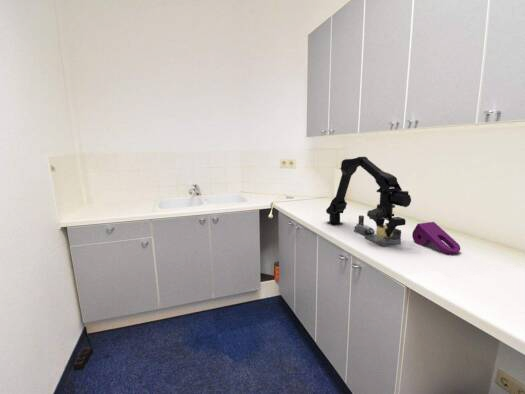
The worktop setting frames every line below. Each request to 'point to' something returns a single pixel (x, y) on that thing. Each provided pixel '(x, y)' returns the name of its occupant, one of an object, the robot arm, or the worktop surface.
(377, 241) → the frame
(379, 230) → the block
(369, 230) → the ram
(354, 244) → the worktop surface
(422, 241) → the mounting bracket
